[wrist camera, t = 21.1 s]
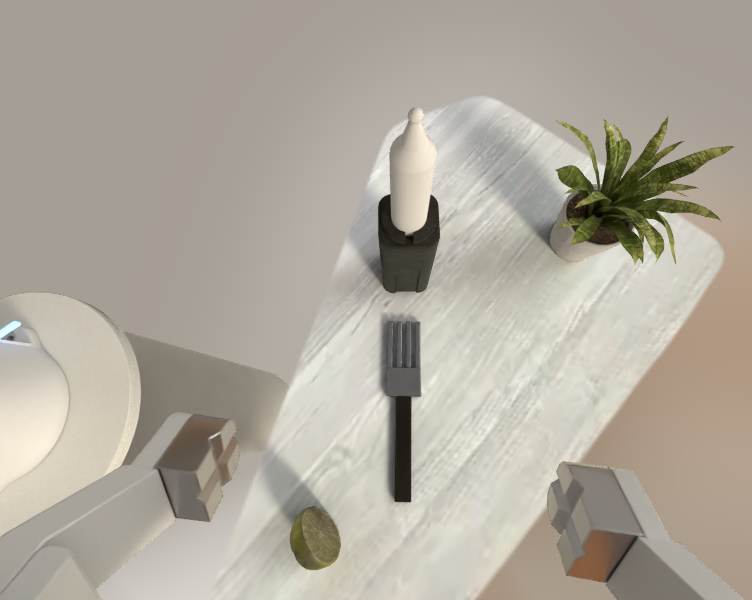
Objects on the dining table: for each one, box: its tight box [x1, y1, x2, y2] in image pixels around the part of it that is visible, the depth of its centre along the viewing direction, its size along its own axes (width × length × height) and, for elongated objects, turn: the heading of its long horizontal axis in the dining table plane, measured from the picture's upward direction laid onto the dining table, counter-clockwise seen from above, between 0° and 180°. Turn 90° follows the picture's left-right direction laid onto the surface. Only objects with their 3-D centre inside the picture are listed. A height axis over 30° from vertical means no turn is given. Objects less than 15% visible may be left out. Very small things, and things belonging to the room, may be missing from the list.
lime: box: [290, 507, 341, 570], centre depth 35 cm, size 4×5×5 cm
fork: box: [387, 321, 421, 502], centre depth 40 cm, size 4×18×1 cm, turn 178°
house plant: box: [549, 117, 733, 264], centre depth 36 cm, size 14×14×16 cm
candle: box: [378, 107, 440, 293], centre depth 32 cm, size 5×5×25 cm
